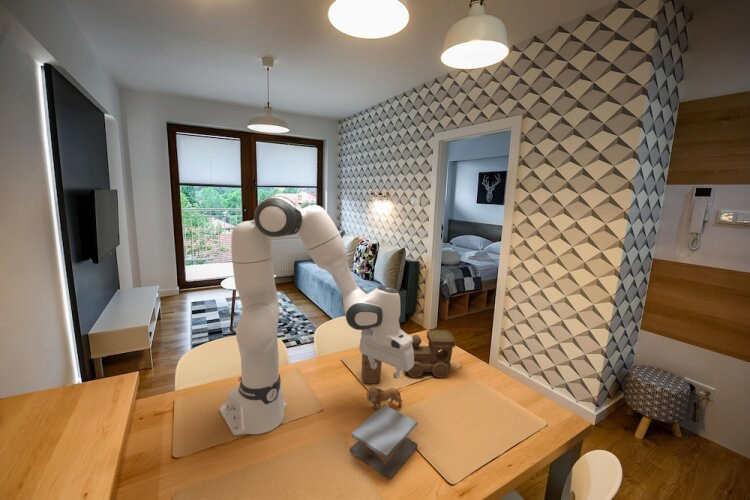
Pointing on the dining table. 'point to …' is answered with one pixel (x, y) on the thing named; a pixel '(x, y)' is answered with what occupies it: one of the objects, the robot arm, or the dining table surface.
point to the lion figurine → (383, 396)
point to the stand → (384, 441)
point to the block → (370, 370)
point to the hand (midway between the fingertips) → (384, 372)
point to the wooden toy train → (433, 354)
